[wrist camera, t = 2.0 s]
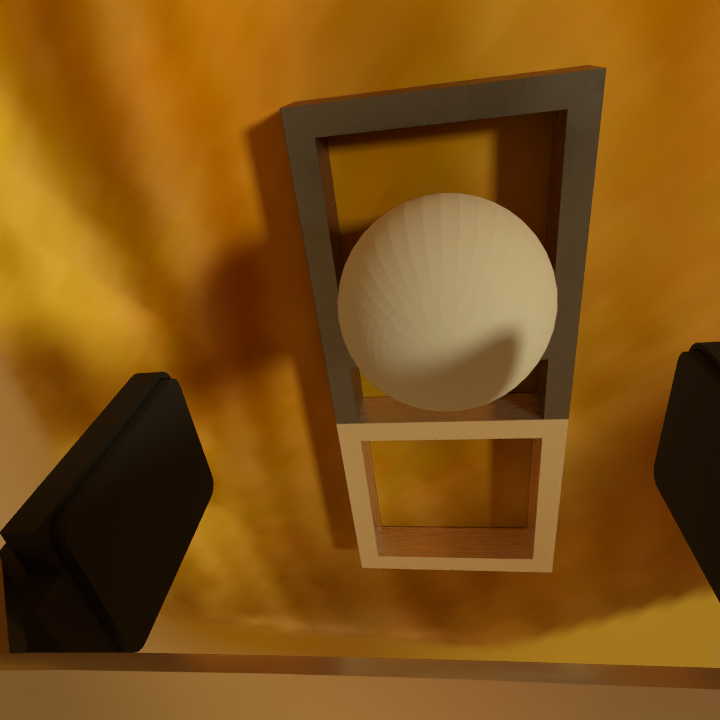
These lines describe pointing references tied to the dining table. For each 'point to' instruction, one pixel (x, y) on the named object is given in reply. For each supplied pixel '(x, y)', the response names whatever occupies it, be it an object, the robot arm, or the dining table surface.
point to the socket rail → (511, 411)
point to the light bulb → (447, 302)
